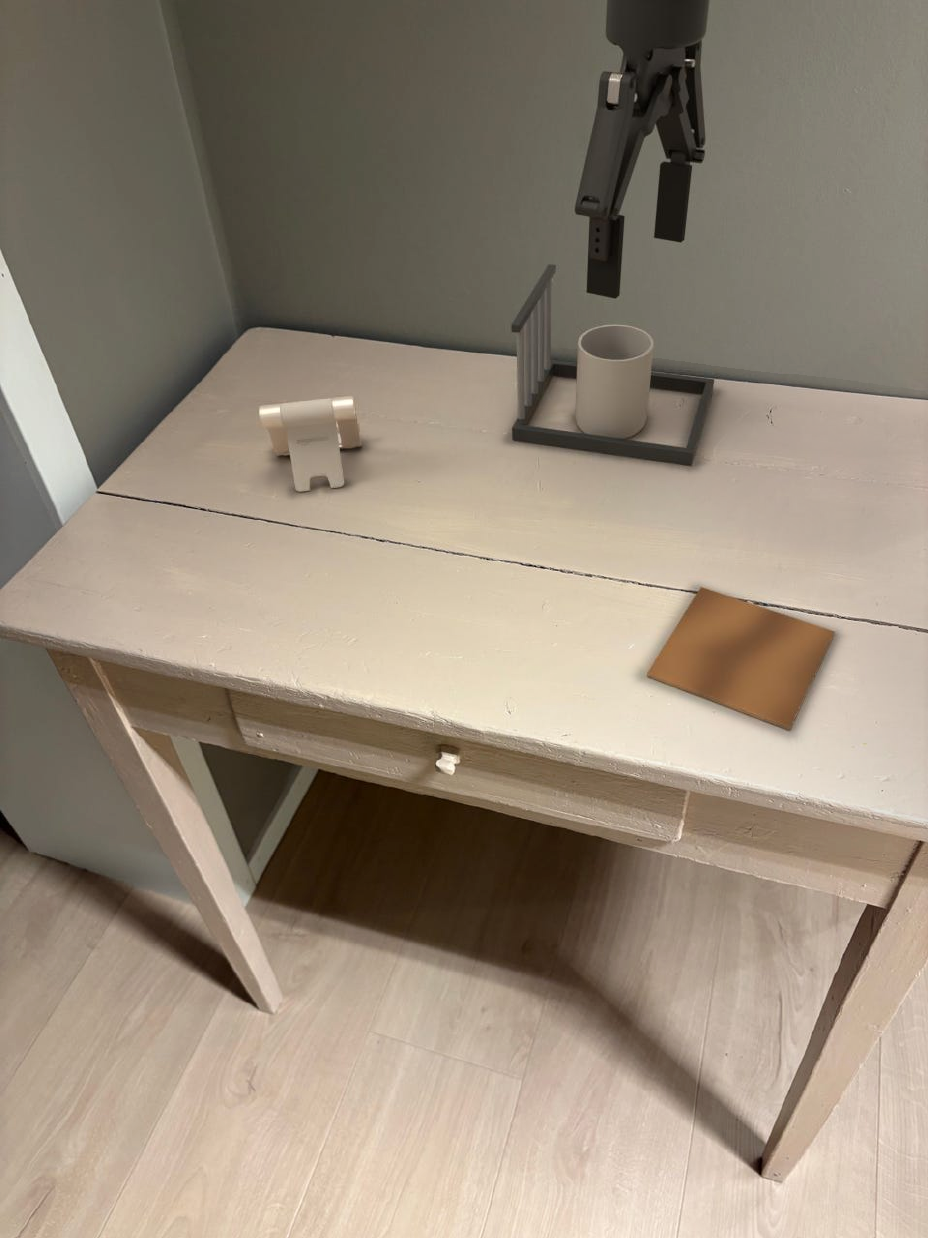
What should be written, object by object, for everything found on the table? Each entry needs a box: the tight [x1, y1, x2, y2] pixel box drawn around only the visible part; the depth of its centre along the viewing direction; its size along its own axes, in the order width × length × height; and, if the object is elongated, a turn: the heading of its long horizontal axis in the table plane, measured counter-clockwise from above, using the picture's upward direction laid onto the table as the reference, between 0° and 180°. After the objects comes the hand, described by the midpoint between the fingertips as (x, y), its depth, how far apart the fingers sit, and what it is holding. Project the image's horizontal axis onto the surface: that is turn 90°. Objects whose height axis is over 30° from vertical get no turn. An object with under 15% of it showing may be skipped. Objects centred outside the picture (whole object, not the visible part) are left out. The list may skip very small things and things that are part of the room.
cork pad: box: [646, 586, 835, 731], centre depth 74 cm, size 11×11×1 cm
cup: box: [575, 324, 655, 439], centre depth 96 cm, size 7×10×9 cm
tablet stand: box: [258, 395, 363, 493], centre depth 92 cm, size 9×8×8 cm
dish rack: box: [510, 263, 716, 467], centre depth 95 cm, size 18×14×12 cm
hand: (637, 265), depth 85 cm, fingers open, 13 cm apart
